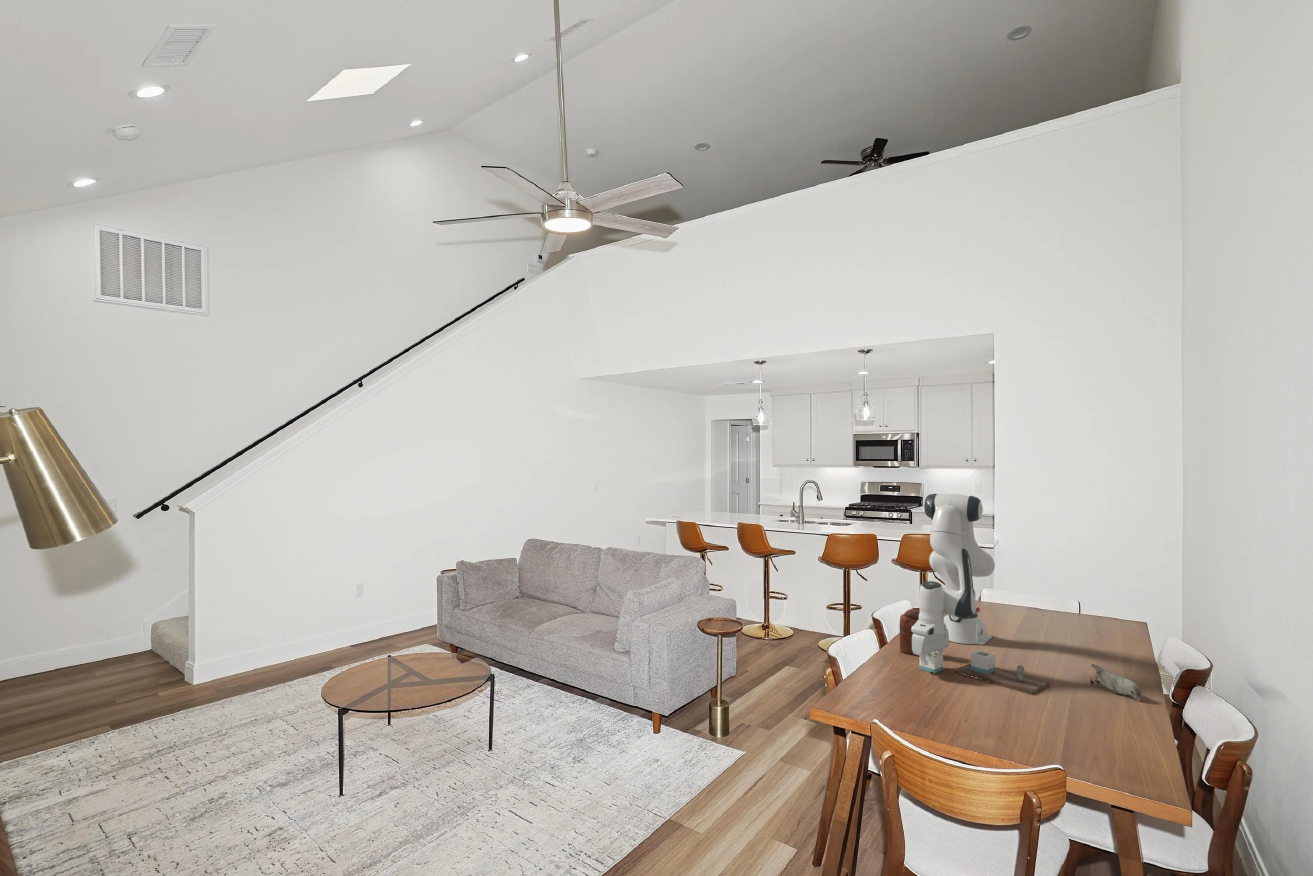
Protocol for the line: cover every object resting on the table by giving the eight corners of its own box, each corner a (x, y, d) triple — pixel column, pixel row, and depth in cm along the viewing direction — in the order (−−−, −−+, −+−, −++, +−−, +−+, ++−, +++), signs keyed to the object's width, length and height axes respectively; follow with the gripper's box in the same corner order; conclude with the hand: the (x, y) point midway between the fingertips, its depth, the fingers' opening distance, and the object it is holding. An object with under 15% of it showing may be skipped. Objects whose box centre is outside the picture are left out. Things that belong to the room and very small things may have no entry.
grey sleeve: (978, 666, 235) (978, 650, 235) (995, 670, 230) (995, 654, 230) (971, 669, 231) (970, 653, 231) (987, 674, 226) (987, 657, 226)
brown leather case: (931, 654, 251) (931, 610, 251) (926, 658, 246) (926, 613, 247) (902, 648, 259) (902, 605, 259) (896, 652, 254) (896, 608, 254)
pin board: (974, 664, 240) (974, 647, 240) (1049, 685, 219) (1048, 666, 219) (956, 672, 232) (956, 654, 232) (1031, 694, 211) (1031, 675, 211)
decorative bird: (1134, 703, 204) (1133, 680, 205) (1086, 685, 220) (1086, 664, 220) (1145, 701, 206) (1145, 679, 206) (1098, 684, 221) (1097, 663, 222)
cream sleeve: (927, 665, 238) (927, 650, 238) (943, 670, 234) (943, 654, 234) (919, 669, 235) (919, 653, 235) (934, 673, 230) (934, 657, 230)
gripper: (937, 619, 243) (937, 655, 243) (908, 628, 231) (908, 665, 231) (953, 623, 238) (953, 659, 238) (924, 632, 226) (924, 670, 225)
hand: (931, 662), depth 234 cm, fingers open, 8 cm apart
